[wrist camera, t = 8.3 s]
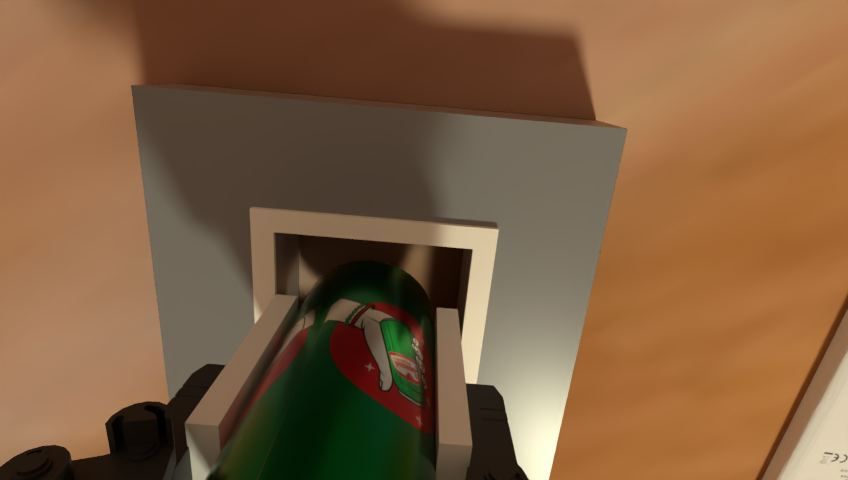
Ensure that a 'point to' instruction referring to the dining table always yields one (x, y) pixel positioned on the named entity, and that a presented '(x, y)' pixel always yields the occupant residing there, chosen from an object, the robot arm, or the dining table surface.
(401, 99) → the dining table surface
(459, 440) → the robot arm
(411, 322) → the soda can
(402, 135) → the socket board
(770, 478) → the external hard drive
